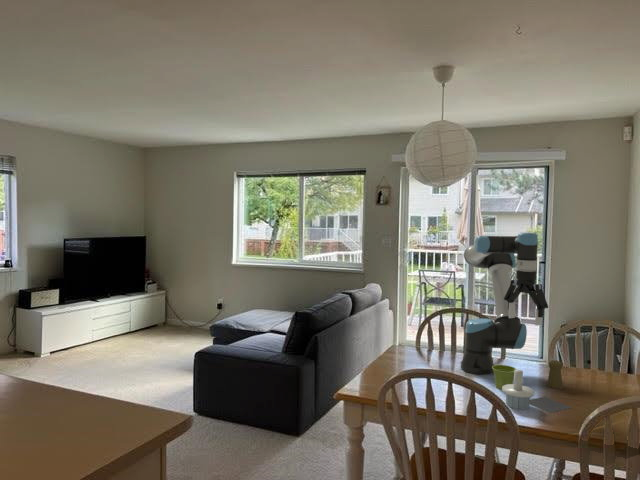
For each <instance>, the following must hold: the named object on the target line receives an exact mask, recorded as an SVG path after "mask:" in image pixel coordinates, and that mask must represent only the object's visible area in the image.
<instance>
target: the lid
mask: <svg viewBox="0 0 640 480" xmlns="http://www.w3.org/2000/svg"><path fill="white" fill-rule="evenodd" d="M523 377H524V372H523V370H522V369H516V370H514V379H513V384H507V385H504V386H502V390H501V391H502V393H504V394H505V395H506V394H508V395H511V396H515V397H530V398H531V397H533V396H534V395H535V391H534V389H532V388H531V387H529V386H526V385H523V382H524V381H523V380H524V378H523Z"/></svg>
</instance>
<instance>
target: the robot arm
mask: <svg viewBox="0 0 640 480" xmlns="http://www.w3.org/2000/svg"><path fill="white" fill-rule="evenodd" d="M538 239H539V238H538V234H537V233H536V232H519V233H518V234H517V235H513V236H511V235H485V234H484V235H478V236H476V237H475V240H474V244H471V245H469V246H468V247H467V248H465V250H464V253H463V258H464V260H465V262H466V263H467V264H468V265H469V266H472V267H474V268H477V269H478V268H479V269H487V273H488V274H489V275H491V281H492V289H493V297H494V304H495V311H496V312H495V313H496V317H495V319H494V320H492V319H490V318H474V319H473V318H472V319H469V320H468V321H467V322H466V323H465V330H464V332H465V337H464V338H465V341H464V342H465V343H464V353H463V357H462V360H461V361H460V368H461V370H462V371H464V372H467V373H470V374H476V375H489V374H494V372H493V369H492V366H494V365H495V363H494V359H493V357H492V356H493V355H492V349H506V350H509V349H510V350H521V349H522V348H524V347H525V345H526V342H527V332H528V331H527V326H526V325H527V324H525V323H521V322H522V321H521V318H520V317H518V316H517V313H516V302H515V300H516V299H518V297H519V296H520V295H521V294H522V293H524V294H528V296H529V297H530V298H531V299H532V302H533V303H534V304H535V306H536V308H535V315H534V317H535V318H534V320H535V321H534V326H542V321H543V320H542V319H543V317H544V310H545V309H549V305H548V302H547V300H546V299H547V298H546V297H545V294H544V291H543V285H542V283H536V280H537V271H536V270H537V268H538V266H537V265H538V263H537V262H538V259H537V258H538V243H539V240H538ZM515 255H516V256H515ZM515 259H516V260H515ZM515 265H516V269H517V270H516V274H515V278H516V279H511V275H510V274H511V272H512V271H513V269H514V268H515Z"/></svg>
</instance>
